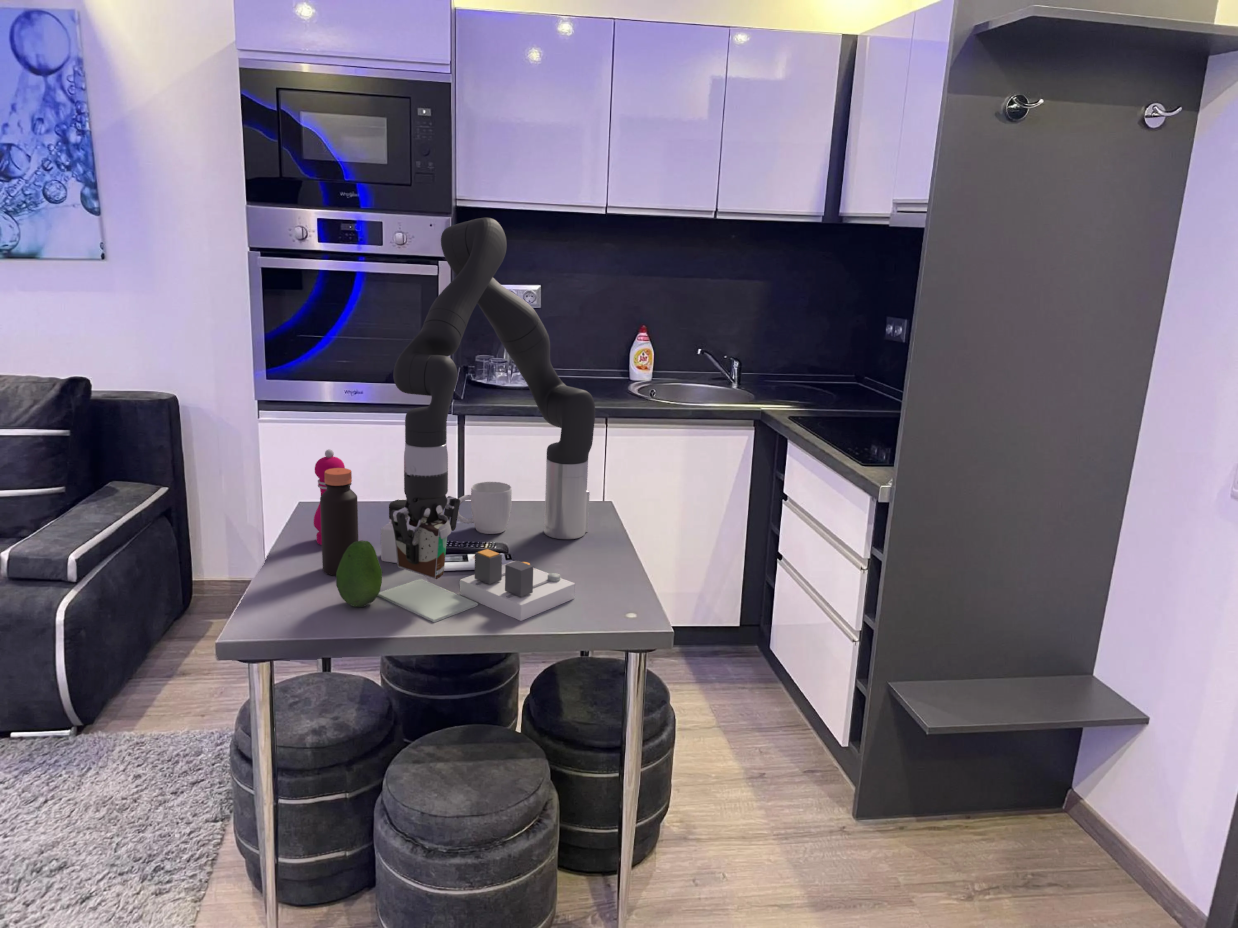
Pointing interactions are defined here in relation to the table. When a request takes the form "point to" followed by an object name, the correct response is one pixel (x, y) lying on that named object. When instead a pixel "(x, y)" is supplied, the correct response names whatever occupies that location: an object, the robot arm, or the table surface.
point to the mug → (489, 507)
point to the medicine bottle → (390, 535)
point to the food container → (427, 549)
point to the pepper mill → (320, 468)
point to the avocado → (359, 574)
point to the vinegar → (337, 517)
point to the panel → (545, 596)
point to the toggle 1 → (488, 566)
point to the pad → (427, 600)
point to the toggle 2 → (519, 578)
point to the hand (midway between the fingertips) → (426, 558)
